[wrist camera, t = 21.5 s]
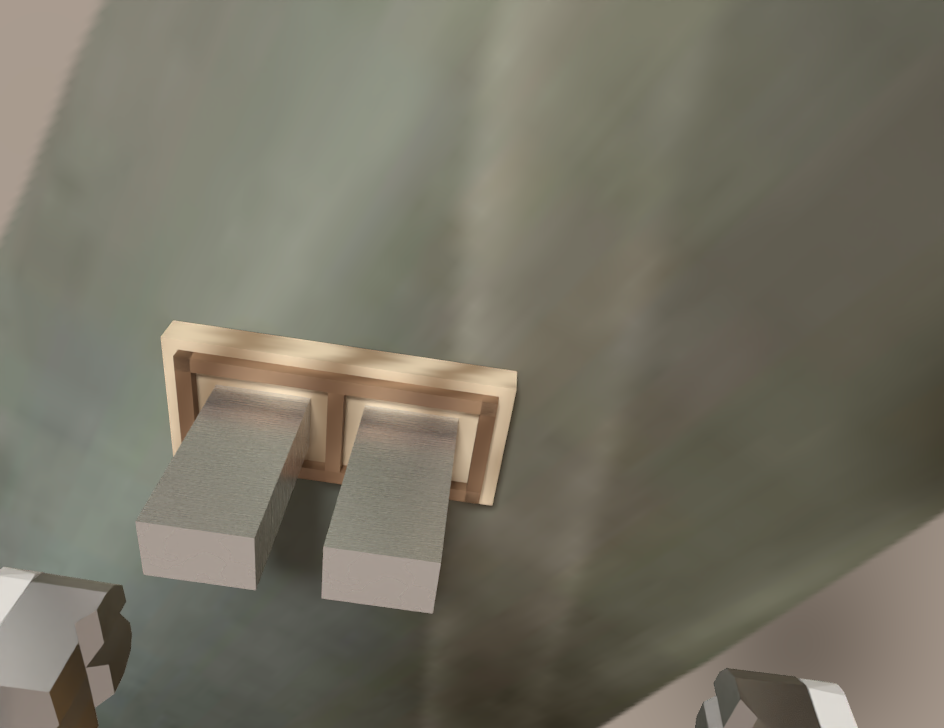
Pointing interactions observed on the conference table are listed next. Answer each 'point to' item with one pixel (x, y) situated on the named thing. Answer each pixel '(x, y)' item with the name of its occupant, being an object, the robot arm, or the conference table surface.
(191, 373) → the wooden compartment tray
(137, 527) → the billet
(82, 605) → the robot arm
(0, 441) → the conference table surface
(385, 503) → the aluminium billet
